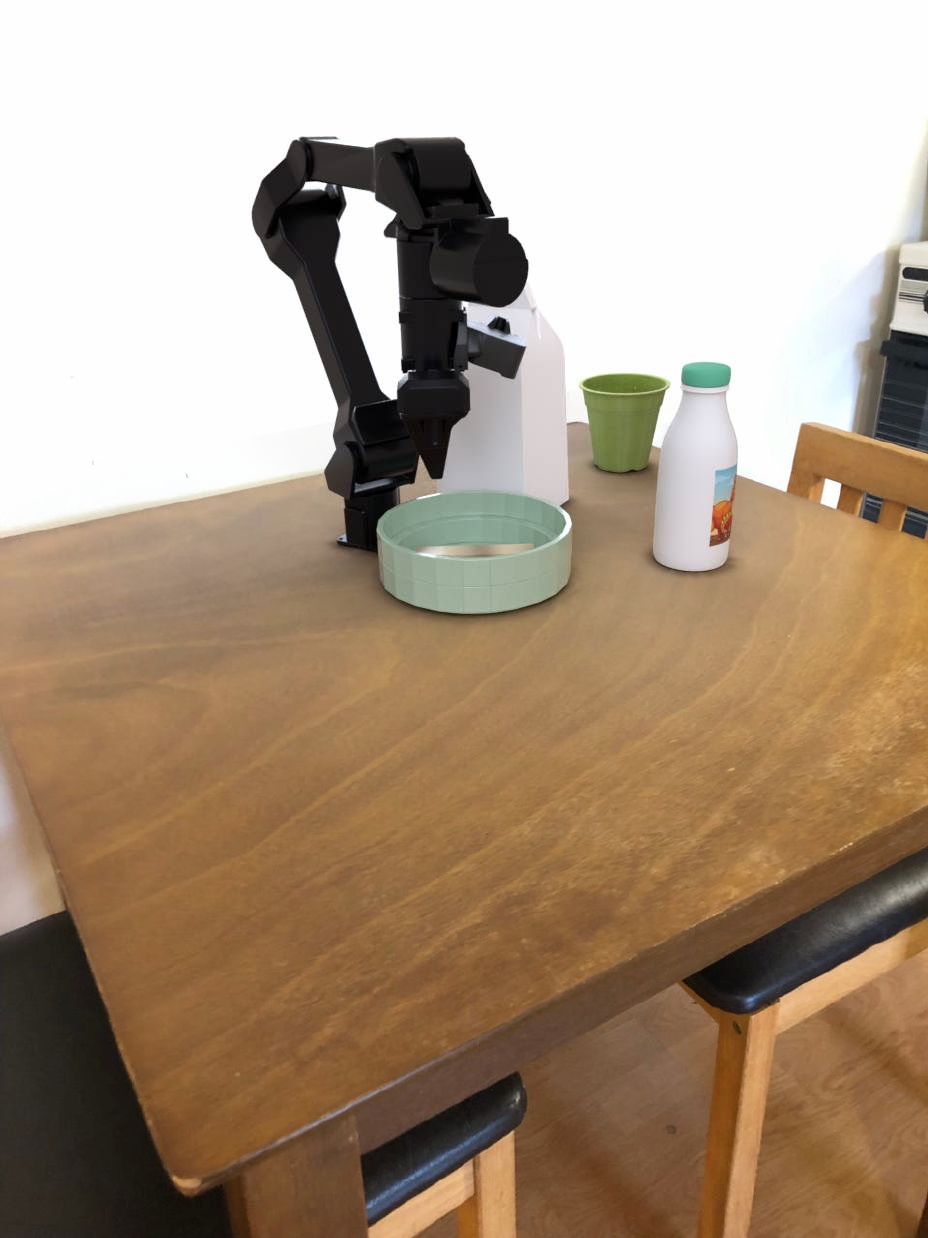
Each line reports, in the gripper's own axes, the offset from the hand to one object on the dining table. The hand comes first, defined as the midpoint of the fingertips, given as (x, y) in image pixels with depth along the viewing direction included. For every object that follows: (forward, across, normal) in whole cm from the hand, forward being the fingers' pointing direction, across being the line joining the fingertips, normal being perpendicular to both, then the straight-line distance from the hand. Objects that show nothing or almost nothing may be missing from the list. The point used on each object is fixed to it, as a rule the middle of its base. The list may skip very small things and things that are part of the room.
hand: (436, 463), depth 90 cm
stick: (+11, -1, -4) cm, 12 cm away
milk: (+12, +20, -8) cm, 25 cm away
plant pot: (+12, +34, -25) cm, 44 cm away
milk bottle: (+12, +2, -26) cm, 29 cm away
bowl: (+12, -1, -4) cm, 12 cm away
